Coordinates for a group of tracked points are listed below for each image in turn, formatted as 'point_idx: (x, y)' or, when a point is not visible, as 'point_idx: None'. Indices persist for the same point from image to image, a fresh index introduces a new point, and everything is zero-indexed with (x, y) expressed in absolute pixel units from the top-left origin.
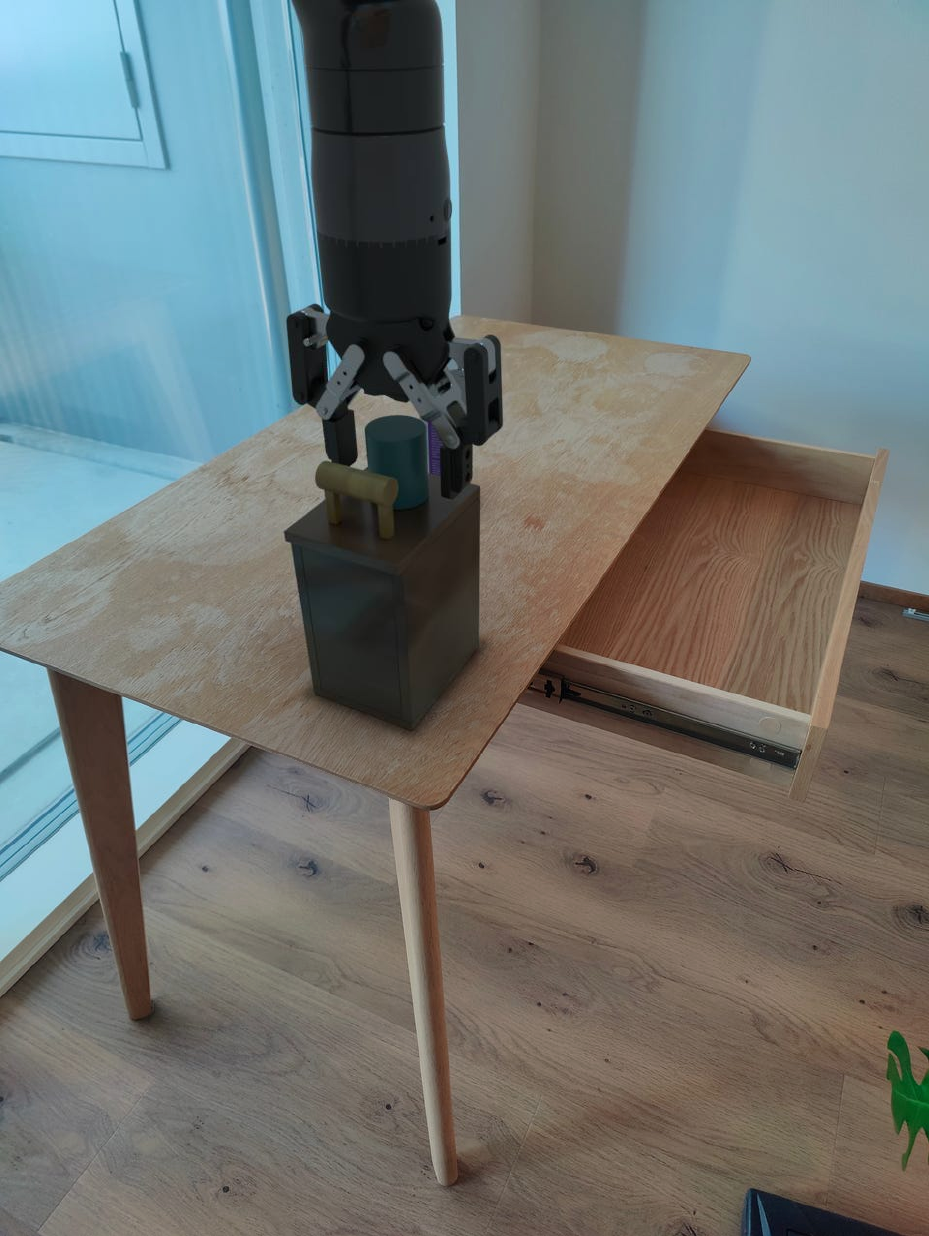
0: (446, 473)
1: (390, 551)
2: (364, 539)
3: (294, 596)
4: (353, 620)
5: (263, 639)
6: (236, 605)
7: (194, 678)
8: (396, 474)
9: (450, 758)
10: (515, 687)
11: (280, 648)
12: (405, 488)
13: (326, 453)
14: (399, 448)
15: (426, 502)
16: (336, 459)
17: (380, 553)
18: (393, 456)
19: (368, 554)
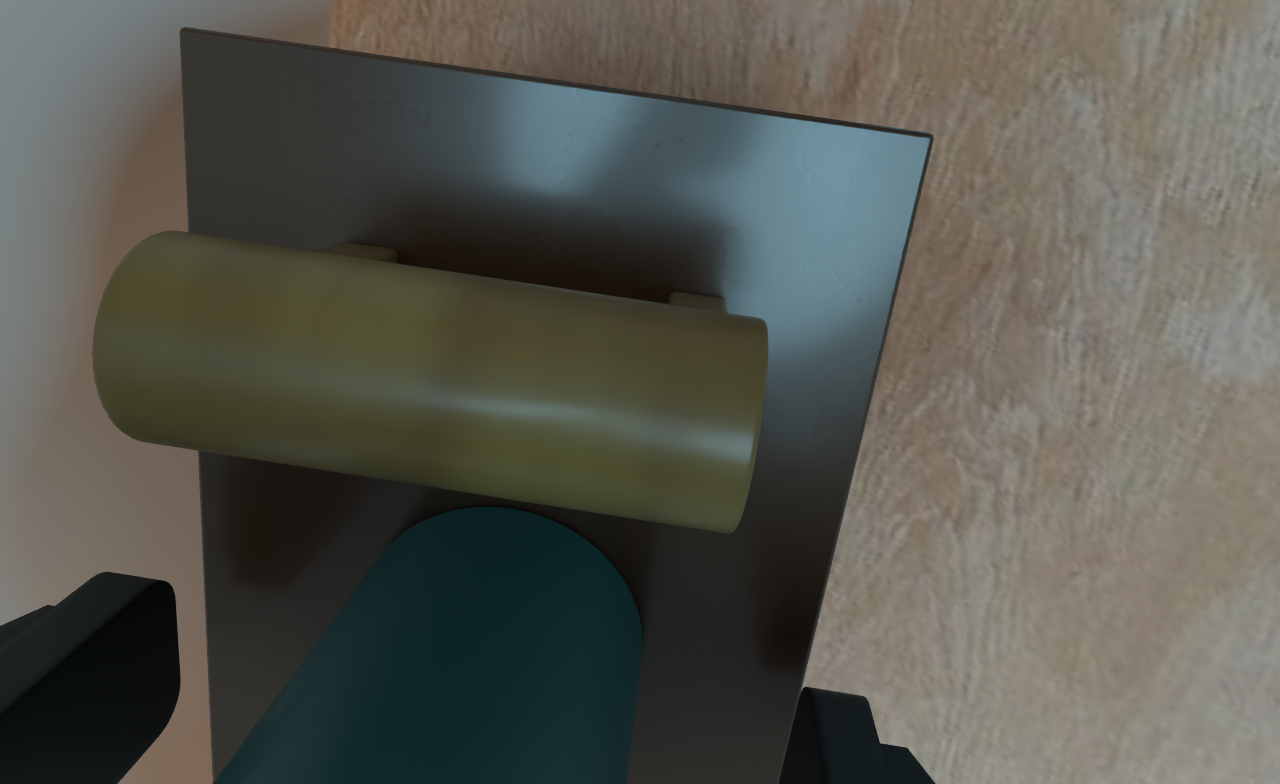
0: (7, 661)
1: (280, 141)
2: (462, 205)
3: (1018, 488)
4: None
5: (1030, 295)
6: (1172, 406)
7: (1164, 75)
8: (361, 629)
9: (365, 35)
10: None
11: (965, 276)
12: (359, 591)
13: (927, 775)
14: (246, 769)
15: None
16: (837, 731)
17: (321, 109)
18: (315, 711)
19: (372, 75)
